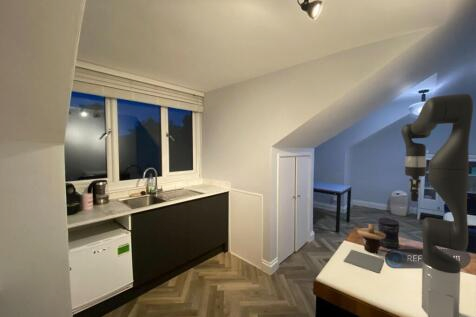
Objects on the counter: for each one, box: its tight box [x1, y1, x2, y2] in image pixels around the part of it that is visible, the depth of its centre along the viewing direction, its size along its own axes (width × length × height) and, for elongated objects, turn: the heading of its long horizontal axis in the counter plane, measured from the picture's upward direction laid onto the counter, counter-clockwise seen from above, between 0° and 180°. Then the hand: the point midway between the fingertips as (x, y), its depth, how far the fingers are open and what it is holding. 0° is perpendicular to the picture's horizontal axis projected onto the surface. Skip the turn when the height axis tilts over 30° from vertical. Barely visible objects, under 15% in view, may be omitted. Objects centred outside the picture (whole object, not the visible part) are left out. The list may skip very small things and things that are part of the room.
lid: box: [357, 223, 386, 239], centre depth 111 cm, size 13×13×5 cm
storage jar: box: [377, 217, 400, 251], centre depth 117 cm, size 10×10×15 cm
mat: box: [343, 249, 385, 274], centre depth 103 cm, size 15×15×1 cm
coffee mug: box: [362, 236, 381, 254], centre depth 111 cm, size 12×9×10 cm
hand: (414, 199), depth 95 cm, fingers open, 8 cm apart
